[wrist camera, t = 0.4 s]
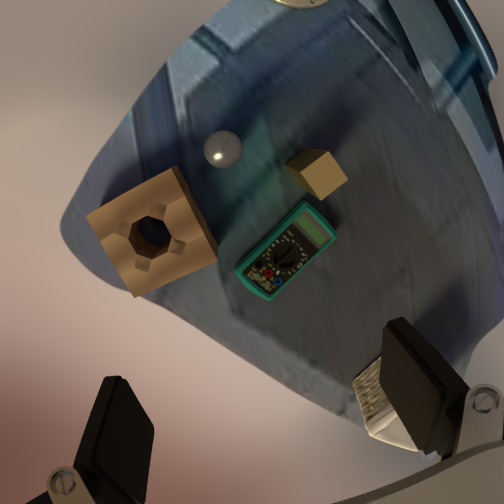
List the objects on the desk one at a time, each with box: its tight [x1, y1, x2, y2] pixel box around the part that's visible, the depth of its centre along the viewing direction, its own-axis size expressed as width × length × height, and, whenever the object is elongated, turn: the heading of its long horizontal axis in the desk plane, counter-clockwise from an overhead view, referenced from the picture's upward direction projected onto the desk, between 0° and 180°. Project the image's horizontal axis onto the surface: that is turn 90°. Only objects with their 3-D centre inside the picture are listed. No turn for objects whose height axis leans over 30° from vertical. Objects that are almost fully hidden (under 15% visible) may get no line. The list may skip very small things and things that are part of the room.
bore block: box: [86, 165, 218, 298], centre depth 40 cm, size 13×13×5 cm
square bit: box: [285, 148, 348, 200], centre depth 37 cm, size 4×4×9 cm
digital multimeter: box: [235, 200, 338, 301], centre depth 44 cm, size 7×15×3 cm, turn 135°
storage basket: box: [353, 356, 419, 451], centre depth 52 cm, size 24×16×15 cm
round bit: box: [204, 130, 242, 168], centre depth 35 cm, size 4×4×9 cm
